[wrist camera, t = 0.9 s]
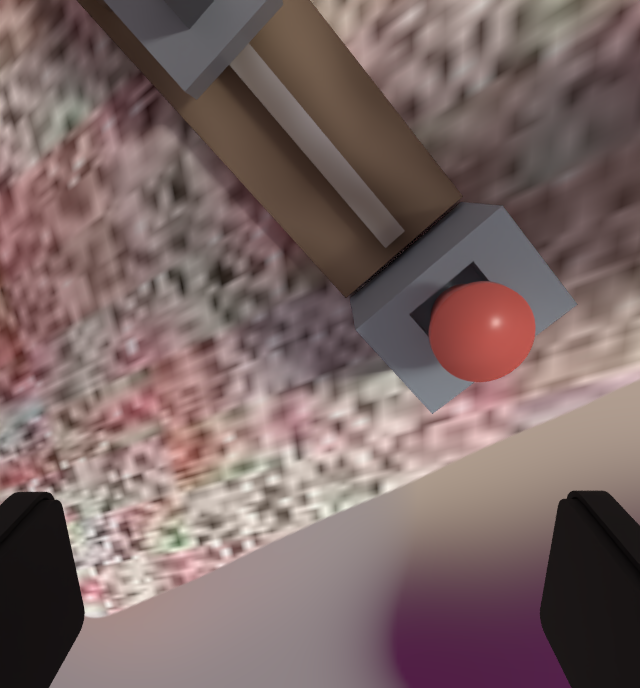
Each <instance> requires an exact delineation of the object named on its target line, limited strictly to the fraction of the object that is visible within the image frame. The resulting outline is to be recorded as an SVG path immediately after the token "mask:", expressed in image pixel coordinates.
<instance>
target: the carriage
mask: <svg viewBox="0 0 640 688" xmlns="http://www.w3.org/2000/svg"><path fill="white" fill-rule="evenodd" d="M104 1H105V3H106V4H107V5H108V6H109V7H110V8H111V9H112V10H113V12H114V13H115V14H116V15H117V16H118V17H119V18H120V19H121V21H122V22H123V23H124V24H125V25H126V26H127V27H128V28H129V30H130V31H131V32H132V33H133V34H134V35H135V36H136V37H137V39H138V40H139V41H140V42H141V43H142V44H143V45H144V46H145V48H146V49H147V50H148V51H149V52H150V53H151V54H152V55H153V57H154V58H155V59H156V60H157V61H158V62H159V63H160V64H161V65H162V67H163V68H164V69H165V70H166V71H167V72H168V73H169V74H170V76H171V77H172V78H173V79H174V80H175V81H176V82H177V83H178V85H179V86H180V87H181V88H182V89H183V90H184V91H185V92H186V93H187V94H189V95H190V96H192V97H193V98H195V99H196V100H197V99H198V98H199V97H200V96H201V95H202V94H203V93H204V92H205V91H206V89H207V88H208V87H209V86H210V85H211V84H212V83H213V82H214V81H215V80H216V78H217V77H218V76H219V75H220V74H221V73H222V72H223V71H224V70H225V68H226V67H227V66H228V65H229V64H230V63H231V62H232V61H233V60H234V59H235V57H236V56H237V55H238V54H239V53H240V52H241V51H242V50H243V49H244V48H245V46H246V45H247V44H248V43H249V42H250V41H251V40H252V39H253V38H254V37H255V35H256V34H257V33H258V32H259V31H260V30H261V29H262V28H263V27H264V26H265V24H266V23H267V22H268V21H269V20H270V19H271V18H272V17H273V16H274V15H275V13H276V12H277V11H278V10H279V9H280V8H281V7H282V6H283V1H282V0H104Z"/></svg>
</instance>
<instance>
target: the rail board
mask: <svg viewBox="0 0 640 688" xmlns="http://www.w3.org/2000/svg"><path fill="white" fill-rule="evenodd" d="M77 1H78V2H79V3H80V5H81V6H82V7H83V8H84V9H85V10H86V11H87V12H88V13H89V14H90V16H91V17H92V18H93V19H94V20H95V21H96V22H97V23H98V24H99V26H100V27H101V28H102V29H103V30H104V31H105V32H106V33H107V34H108V36H109V37H110V38H111V39H112V40H113V41H114V42H115V43H116V44H117V45H118V47H119V48H120V49H121V50H122V51H123V52H124V53H125V54H126V55H127V57H128V58H129V59H130V60H131V61H132V62H133V63H134V64H135V65H136V66H137V68H138V69H139V70H140V71H141V72H142V73H143V74H144V75H145V76H146V78H147V79H148V80H149V81H150V82H151V83H152V84H153V85H154V86H155V87H156V89H157V90H158V91H159V92H160V93H161V94H162V95H163V96H164V97H165V99H166V100H167V101H168V102H169V103H170V104H171V105H172V106H173V107H174V109H175V110H176V111H177V112H178V113H179V114H180V115H181V116H182V117H183V118H184V120H185V121H186V122H187V123H188V124H189V125H190V126H191V127H192V128H193V130H194V131H195V132H196V133H197V134H198V135H199V136H200V137H201V138H202V139H203V141H204V142H205V143H206V144H207V145H208V146H209V147H210V148H211V149H212V151H213V152H214V153H215V154H216V155H217V156H218V157H219V158H220V159H221V160H222V162H223V163H224V164H225V165H226V166H227V167H228V168H229V169H230V170H231V172H232V173H233V174H234V175H235V176H236V177H237V178H238V179H239V180H240V182H241V183H242V184H243V185H244V186H245V187H246V188H247V189H248V190H249V191H250V193H251V194H252V195H253V196H254V197H255V198H256V199H257V200H258V201H259V203H260V204H261V205H262V206H263V207H264V208H265V209H266V210H267V211H268V212H269V214H270V215H271V216H272V217H273V218H274V219H275V220H276V221H277V222H278V224H279V225H280V226H281V227H282V228H283V229H284V230H285V231H286V232H287V234H288V235H289V236H290V237H291V238H292V239H293V240H294V241H295V242H296V243H297V245H298V246H299V247H300V248H301V249H302V250H303V251H304V252H305V253H306V255H307V256H308V257H309V258H310V259H311V260H312V261H313V262H314V263H315V264H316V266H317V267H318V268H319V269H320V270H321V271H322V272H323V273H324V274H325V276H326V277H327V278H328V279H329V280H330V281H331V282H332V283H333V284H334V285H335V287H336V288H337V289H338V290H339V291H340V292H341V293H342V294H343V295H344V297H345V298H347V297H348V296H349V295H350V294H351V293H352V292H354V291H355V290H356V289H357V288H358V287H359V286H360V285H362V284H363V283H364V282H365V281H366V280H367V279H369V278H370V277H371V276H372V275H373V274H374V273H375V272H377V271H378V270H379V269H380V268H381V267H382V266H383V265H385V264H386V263H387V262H388V261H389V260H390V259H391V258H393V257H394V256H395V255H396V254H397V253H398V252H400V251H401V250H402V249H403V248H404V247H405V246H406V245H408V244H409V243H410V242H411V241H412V240H413V239H414V238H416V237H417V236H418V235H419V234H420V233H421V232H423V231H424V230H425V229H426V228H427V227H428V226H429V225H431V224H432V223H433V222H434V221H435V220H436V219H437V218H439V217H440V216H441V215H442V214H443V213H444V212H446V211H447V210H448V209H449V208H450V207H451V206H452V205H454V204H455V203H456V202H457V201H458V200H459V199H460V198H462V197H463V196H462V195H461V194H460V192H459V191H458V190H457V188H456V187H455V186H454V185H453V183H452V182H451V181H450V179H449V178H448V177H447V176H446V174H445V173H444V172H443V170H442V169H441V168H440V167H439V165H438V164H437V163H436V161H435V160H434V159H433V158H432V156H431V155H430V154H429V152H428V151H427V150H426V149H425V147H424V146H423V145H422V143H421V142H420V141H419V140H418V138H417V137H416V136H415V134H414V133H413V132H412V131H411V129H410V128H409V127H408V125H407V124H406V123H405V122H404V120H403V119H402V118H401V117H400V115H399V114H398V113H397V111H396V110H395V109H394V108H393V106H392V105H391V104H390V102H389V101H388V100H387V99H386V97H385V96H384V95H383V93H382V92H381V91H380V90H379V88H378V87H377V86H376V84H375V83H374V82H373V81H372V79H371V78H370V77H369V75H368V74H367V73H366V72H365V70H364V69H363V68H362V66H361V65H360V64H359V63H358V61H357V60H356V59H355V57H354V56H353V55H352V54H351V52H350V51H349V50H348V48H347V47H346V46H345V45H344V43H343V42H342V41H341V39H340V38H339V37H338V36H337V34H336V33H335V32H334V30H333V29H332V28H331V27H330V25H329V24H328V23H327V21H326V20H325V19H324V18H323V16H322V15H321V14H320V13H319V11H318V10H317V9H316V7H315V6H314V5H313V4H312V2H311V1H310V0H282V1H283V6H282V7H281V8H280V9H279V10H278V11H277V12H276V13H275V15H274V16H273V17H272V18H271V19H270V20H269V21H268V22H267V23H266V24H265V26H264V27H263V28H262V29H261V30H260V31H259V32H258V33H257V34H256V35H255V37H254V38H253V39H252V40H251V41H250V42H249V43H248V44H247V45H246V46H245V48H244V49H243V50H242V51H241V52H240V53H239V54H238V55H237V56H236V57H235V59H234V60H233V61H232V62H231V63H230V64H229V65H228V66H227V67H226V68H225V70H224V71H223V72H222V73H221V74H220V75H219V76H218V77H217V78H216V80H215V81H214V82H213V83H212V84H211V85H210V86H209V87H208V88H207V89H206V91H205V92H204V93H203V94H202V95H201V96H200V97H199V98H198V99H197V100H196V99H195V98H193V97H192V96H190V95H189V94H187V93H186V92H185V91H184V90H183V89H182V88H181V87H180V86H179V85H178V83H177V82H176V81H175V80H174V79H173V78H172V77H171V76H170V74H169V73H168V72H167V71H166V70H165V69H164V68H163V67H162V65H161V64H160V63H159V62H158V61H157V60H156V59H155V58H154V57H153V55H152V54H151V53H150V52H149V51H148V50H147V49H146V48H145V46H144V45H143V44H142V43H141V42H140V41H139V40H138V39H137V37H136V36H135V35H134V34H133V33H132V32H131V31H130V30H129V28H128V27H127V26H126V25H125V24H124V23H123V22H122V21H121V19H120V18H119V17H118V16H117V15H116V14H115V13H114V12H113V10H112V9H111V8H110V7H109V6H108V5H107V4H106V3H105V1H104V0H77Z"/></svg>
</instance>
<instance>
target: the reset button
mask: <svg viewBox="0 0 640 688" xmlns="http://www.w3.org/2000/svg"><path fill="white" fill-rule="evenodd" d="M430 318H431V320H430V325H429V342H430V346H431V349H432V351H433V353H434V355H435V357H436V358H437V360H438V361H439V363H440V364H441V365H442V367H443V368H444V369H445V370H446V371H448V372H449V373H450V374H452V375H453V376H455V377H457V378H460V379H462V380H466V381H470V382H486V381H492V380H495V379H498V378H501V377H503V376H505V375H507V374H509V373H510V372H512V371H513V370H514V369H516V368H517V367H518V366H519V365H520V364H521V363H522V362H523V361H524V359H525V358H526V357H527V355H528V353H529V352H530V350H531V347H532V345H533V342H534V338H535V318H534V315H533V312H532V310H531V308H530V306H529V305H528V303H527V302H526V300H525V299H524V298H523V297H522V296H521V295H519V294H518V293H517V292H515V291H513V290H512V289H510V288H508V287H506V286H504V285H502V284H499V283H495V282H490V281H478V282H472V283H468V284H458V285H454V286H452V287H450V288H448V289H446V290H445V291H443V292H442V293H441V294H440V295H439V296H438V297H437V299H436V300H435V302H434V304H433V306H432V309H431V317H430Z"/></svg>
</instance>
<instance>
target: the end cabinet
mask: <svg viewBox="0 0 640 688" xmlns="http://www.w3.org/2000/svg"><path fill="white" fill-rule="evenodd" d="M478 281H490V282H495V283H499V284H502V285H504V286H506V287H508V288H510V289H512V290H513V291H515V292H517V293H518V294H519V295H521V296H522V297H523V298H524V299H525V300H526V302H527V303H528V305H529V306H530V308H531V310H532V312H533V315H534V318H535V336H536V335H538V334H539V333H540V332H542V331H543V330H544V329H546V328H547V327H548V326H550V325H551V324H552V323H554V322H555V321H556V320H558V319H559V318H560V317H562V316H563V315H564V314H566V313H567V312H568V311H570V310H571V309H572V308H573V307H575V306H576V305H577V303H576V302H575V300H574V299H573V298H572V297H571V295H570V294H569V293H568V291H567V290H566V289H565V287H564V286H563V285H562V283H561V282H560V281H559V279H558V278H557V277H556V275H555V274H554V273H553V271H552V270H551V269H550V268H549V266H548V265H547V264H546V262H545V261H544V260H543V258H542V257H541V256H540V254H539V253H538V252H537V250H536V249H535V248H534V246H533V245H532V244H531V243H530V241H529V240H528V239H527V237H526V236H525V235H524V233H523V232H522V231H521V229H520V228H519V227H518V225H517V224H516V223H515V221H514V220H513V219H512V217H511V216H510V215H509V214H508V212H507V211H506V210H505V208H504V207H503V206H500V205H489V204H479V203H468V202H461V203H459V204H458V205H457V206H456V207H455V208H454V209H453V210H451V211H450V212H449V213H448V214H447V215H446V216H444V217H443V218H442V219H441V220H440V221H439V222H438V223H436V224H435V225H434V226H433V227H432V228H431V229H430V230H428V231H427V232H426V233H425V234H424V235H423V236H421V237H420V238H419V239H418V240H417V241H416V242H415V243H413V244H412V245H411V246H410V247H409V248H408V249H406V250H405V251H404V252H403V253H402V254H401V255H400V256H398V257H397V258H396V259H395V260H394V261H393V262H391V263H390V264H389V265H388V266H387V267H386V268H385V269H383V270H382V271H381V272H380V273H379V274H378V275H376V276H375V277H374V278H373V279H372V280H371V281H370V282H368V283H367V284H366V285H365V286H364V287H363V288H361V289H360V290H359V291H358V292H357V293H356V294H355V295H353V296H352V297H351V298H350V302H351V308H352V314H353V319H354V325H355V330H356V331H357V332H358V333H359V334H360V335H361V337H362V338H363V339H364V340H365V341H366V342H367V343H368V344H369V345H370V346H371V347H372V349H373V350H374V351H375V352H376V353H377V354H378V355H379V356H380V357H381V358H382V359H383V361H384V362H385V363H386V364H387V365H388V366H389V367H390V368H391V369H392V370H393V371H394V373H395V374H396V375H397V376H398V377H399V378H400V379H401V380H402V381H403V382H404V383H405V385H406V386H407V387H408V388H409V389H410V390H411V391H412V392H413V393H414V394H415V395H416V397H417V398H418V399H419V400H420V401H421V402H422V403H423V404H424V405H425V406H426V407H427V409H428V410H429V411H430V412H431V413H432V414H433V413H434V412H436V411H437V410H438V409H440V408H441V407H442V406H444V405H445V404H446V403H448V402H449V401H450V400H452V399H453V398H454V397H456V396H457V395H458V394H460V393H461V392H462V391H464V390H465V389H466V388H467V387H469V386H470V385H471V384H473V383H474V382H470V381H466V380H462V379H460V378H457V377H455V376H453V375H452V374H450V373H449V372H448V371H446V370H445V369H444V368H443V367H442V365H441V364H440V363H439V361H438V360H437V358H436V357H435V355H434V353H433V351H432V349H431V346H430V342H429V325H430V320H431V318H430V317H431V309H432V306H433V304H434V302H435V300H436V299H437V297H438V296H439V295H440V294H441V293H442V292H443V291H445V290H446V289H448V288H450V287H452V286H454V285H458V284H468V283H472V282H478Z"/></svg>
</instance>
